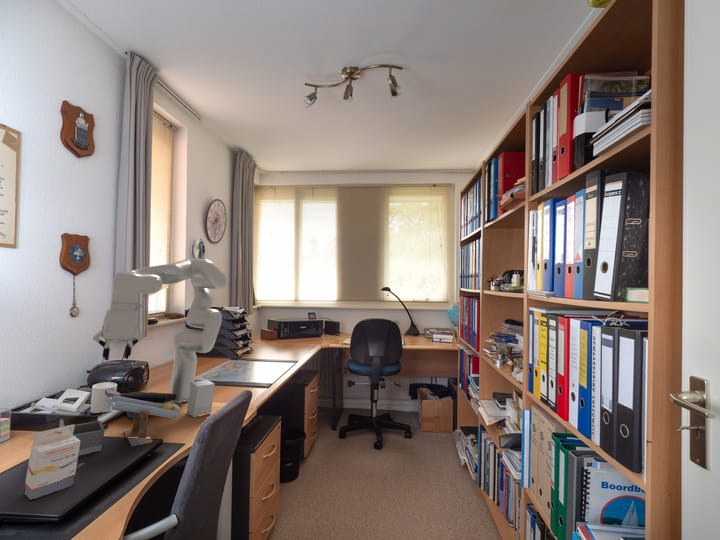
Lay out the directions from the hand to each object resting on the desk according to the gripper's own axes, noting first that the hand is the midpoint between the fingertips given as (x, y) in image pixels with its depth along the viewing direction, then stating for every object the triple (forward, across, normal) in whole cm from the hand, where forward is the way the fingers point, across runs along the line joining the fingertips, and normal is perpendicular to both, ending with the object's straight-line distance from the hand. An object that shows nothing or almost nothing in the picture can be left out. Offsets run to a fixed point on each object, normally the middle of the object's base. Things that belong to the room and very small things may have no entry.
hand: (116, 358), depth 116 cm
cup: (+25, +8, +10) cm, 28 cm away
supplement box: (+26, -32, -1) cm, 41 cm away
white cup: (+26, -2, -21) cm, 33 cm away
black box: (+26, -14, -13) cm, 33 cm away
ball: (+17, -16, +10) cm, 25 cm away
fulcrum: (+25, -8, +10) cm, 28 cm away
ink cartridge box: (+26, +16, +29) cm, 42 cm away
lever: (+17, -8, +6) cm, 19 cm away
